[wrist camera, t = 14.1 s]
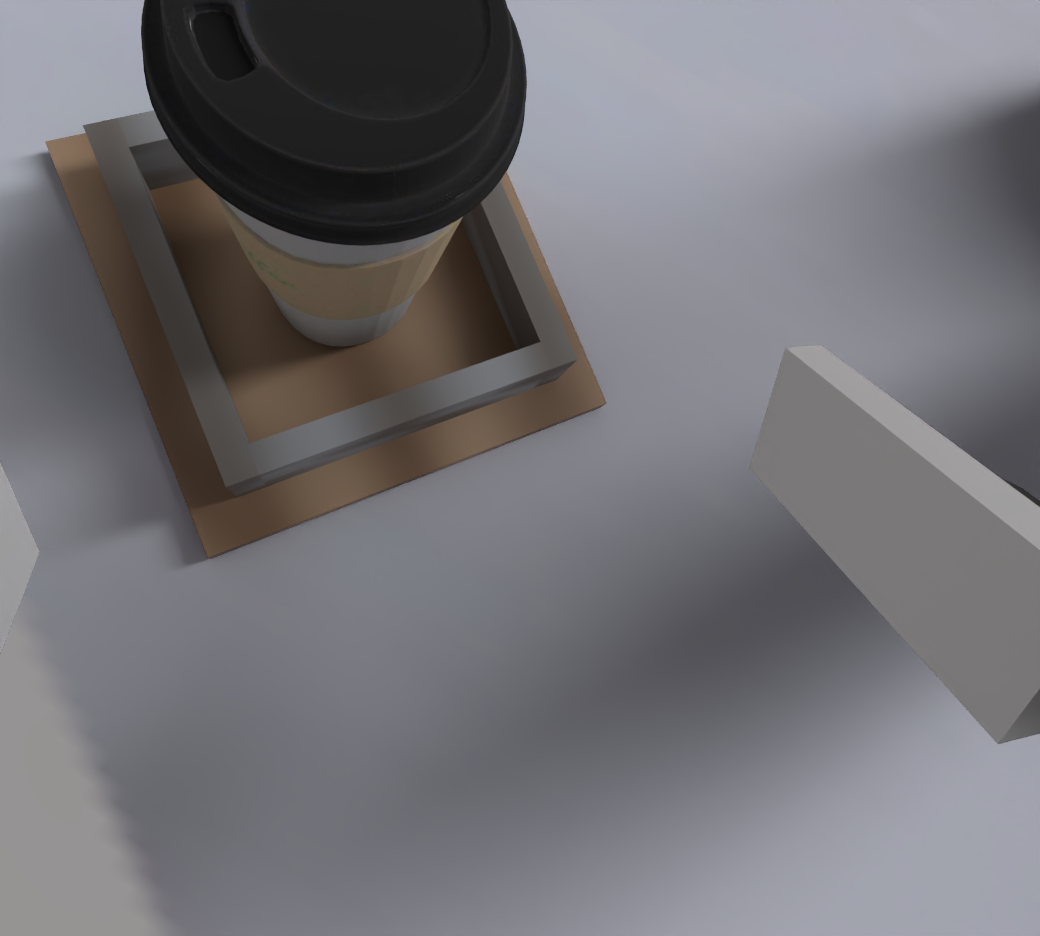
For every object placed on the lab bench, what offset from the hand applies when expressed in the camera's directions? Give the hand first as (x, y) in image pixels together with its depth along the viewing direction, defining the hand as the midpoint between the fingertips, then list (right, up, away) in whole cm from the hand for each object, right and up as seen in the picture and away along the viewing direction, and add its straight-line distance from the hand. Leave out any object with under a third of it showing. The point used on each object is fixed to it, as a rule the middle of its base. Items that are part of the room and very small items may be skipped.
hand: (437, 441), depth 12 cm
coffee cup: (-6, +8, +19) cm, 21 cm away
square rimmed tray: (-6, +7, +19) cm, 22 cm away
